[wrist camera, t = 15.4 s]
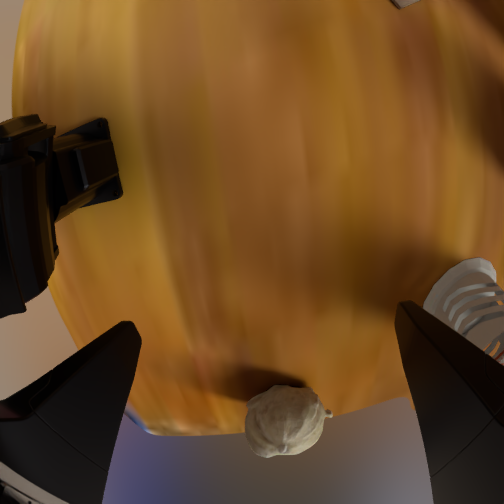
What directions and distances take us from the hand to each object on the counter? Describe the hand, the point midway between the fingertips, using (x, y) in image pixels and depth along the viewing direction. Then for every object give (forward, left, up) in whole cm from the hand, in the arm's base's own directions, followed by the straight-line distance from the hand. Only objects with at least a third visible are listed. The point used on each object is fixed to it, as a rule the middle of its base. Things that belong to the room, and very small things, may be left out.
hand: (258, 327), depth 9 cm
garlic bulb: (0, -22, -12) cm, 25 cm away
